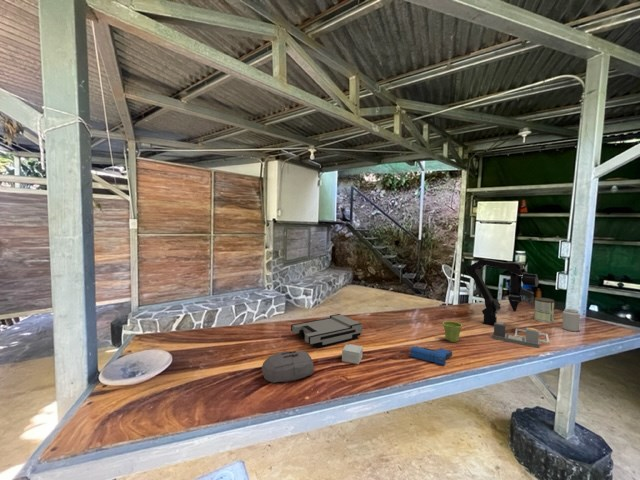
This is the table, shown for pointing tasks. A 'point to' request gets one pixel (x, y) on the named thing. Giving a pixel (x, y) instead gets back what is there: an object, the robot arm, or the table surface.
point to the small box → (352, 353)
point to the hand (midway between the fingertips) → (514, 309)
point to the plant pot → (452, 330)
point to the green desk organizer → (544, 309)
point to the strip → (515, 340)
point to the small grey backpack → (287, 366)
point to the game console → (328, 330)
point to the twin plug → (499, 329)
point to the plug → (532, 335)
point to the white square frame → (538, 334)
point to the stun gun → (431, 354)
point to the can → (571, 320)
